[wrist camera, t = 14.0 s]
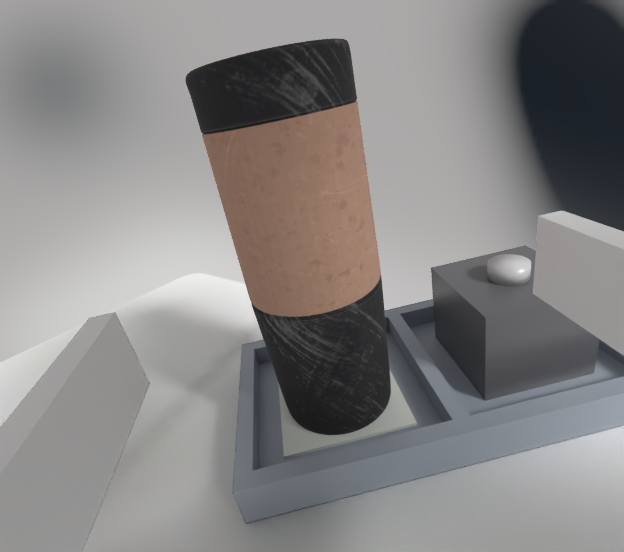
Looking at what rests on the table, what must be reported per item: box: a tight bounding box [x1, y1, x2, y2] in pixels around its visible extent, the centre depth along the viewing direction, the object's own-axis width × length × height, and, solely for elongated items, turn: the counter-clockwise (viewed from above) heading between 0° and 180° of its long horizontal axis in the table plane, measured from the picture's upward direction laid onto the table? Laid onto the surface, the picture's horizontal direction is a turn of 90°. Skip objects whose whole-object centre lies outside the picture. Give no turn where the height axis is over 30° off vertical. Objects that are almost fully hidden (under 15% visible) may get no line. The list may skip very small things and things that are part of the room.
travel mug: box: [186, 39, 391, 435], centre depth 21 cm, size 8×8×20 cm
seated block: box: [431, 246, 600, 401], centre depth 25 cm, size 7×7×7 cm
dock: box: [233, 299, 624, 523], centre depth 26 cm, size 25×13×2 cm, turn 98°
